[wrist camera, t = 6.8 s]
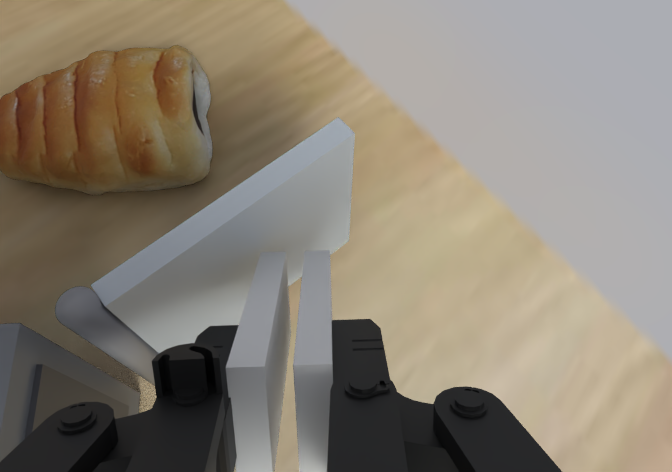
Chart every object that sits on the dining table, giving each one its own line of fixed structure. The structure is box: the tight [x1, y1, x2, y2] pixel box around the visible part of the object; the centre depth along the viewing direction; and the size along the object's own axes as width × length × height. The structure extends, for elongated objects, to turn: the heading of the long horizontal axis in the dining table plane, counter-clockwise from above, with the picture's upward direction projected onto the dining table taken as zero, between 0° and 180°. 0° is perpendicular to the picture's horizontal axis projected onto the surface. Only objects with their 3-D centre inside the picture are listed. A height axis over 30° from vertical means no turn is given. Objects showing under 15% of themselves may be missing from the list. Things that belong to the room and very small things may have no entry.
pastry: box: [0, 45, 213, 195], centre depth 25 cm, size 9×7×4 cm
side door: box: [55, 117, 355, 386], centre depth 18 cm, size 1×9×8 cm, turn 129°
